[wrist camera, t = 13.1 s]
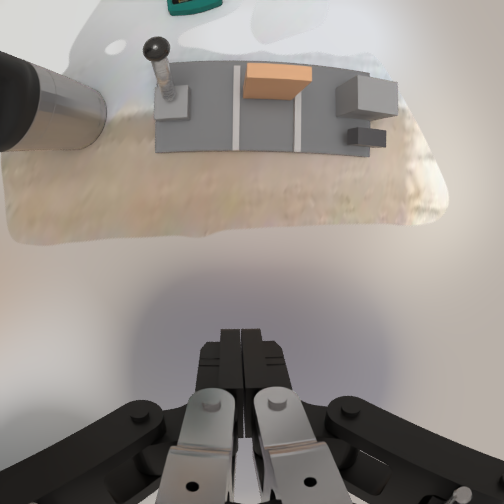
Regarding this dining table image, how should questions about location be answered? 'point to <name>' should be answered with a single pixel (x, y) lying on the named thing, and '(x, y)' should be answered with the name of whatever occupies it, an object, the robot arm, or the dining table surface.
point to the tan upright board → (275, 81)
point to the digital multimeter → (191, 6)
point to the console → (268, 111)
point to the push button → (366, 137)
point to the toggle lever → (160, 65)
